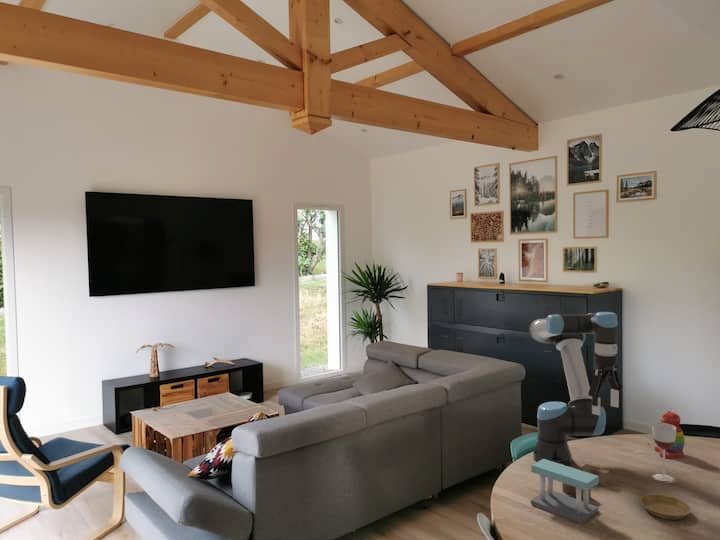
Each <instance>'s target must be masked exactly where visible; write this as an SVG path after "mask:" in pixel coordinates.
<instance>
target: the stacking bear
mask: <svg viewBox="0 0 720 540" xmlns="http://www.w3.org/2000/svg"><path fill="white" fill-rule="evenodd" d="M660 423H667V424H671V425H674V426H675V427H676V439H675V442H674V444H673V446H672V447H670V448H667V449H665V459H671V460H672V458H674V459H681V458H683V457H684V456H685V455H684V447H685V442H686V441H685V435H684V432H683V429H682V427H680V425H681V417H680V416H679V415H678V414H677V413H675V412H672V411H669V410H668V411H667V412H665V413H664V414H663V415H662V416H661V417H660ZM654 451H655V452H657V453H659V456H660V457H661V458H663V449H662V448H661V447H659V446H658V445H656V446H654Z"/></svg>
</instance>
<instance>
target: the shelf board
mask: <svg viewBox="0 0 720 540" xmlns="http://www.w3.org/2000/svg"><path fill="white" fill-rule="evenodd" d="M530 469H531V470H530V471H531V473H533V474H536V475H538V476H540V475H542V476H545V478H547V479H548V478H550V479H553V481H557V482H560V483H562V484H563V483H565V484H568V485H571V486H574V487H577V488H580V489H583V490H586V491H588V490H589V489H592V488H594V487H595V486H597V485H599V484H598V483H599V476H597V475H594V474H591V473H588V472H584V471H583V470H580V469H577V468H574V467H571V466H569V465H566V466H565V465H562V464H559V463H556V462H552V461H549V460H546V459H542V460H540V461H538V462H537V461H535V463H533V464H531V467H530Z"/></svg>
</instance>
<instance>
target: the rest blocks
mask: <svg viewBox="0 0 720 540" xmlns="http://www.w3.org/2000/svg"><path fill="white" fill-rule="evenodd" d="M582 471H584V472H588V473H591V474H594V475H597V476H599V483H598V484H597V485H599V486H603V487H605V488H606V487H608V486H610V485H611V484H610V483H611V482H610V481H611V480H610V479H611V476H610V475H611V473H610V470H607V469H605V468H601V467H598V466H595V465H591V464H587V463H586V464H584V465H582ZM591 489H592V488H591ZM591 489H589V499H590V498H591V496H592V495H591V491H592V490H591ZM563 491H565V492H564V493H566V492H567V493H566V494H569V493H570V494H569V495H571V494H572V496H574V495H575V497H576V487H574V486H571V485H568V484H565V483H562V492H563ZM583 492H584V490H583V489H581V499H583Z"/></svg>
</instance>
